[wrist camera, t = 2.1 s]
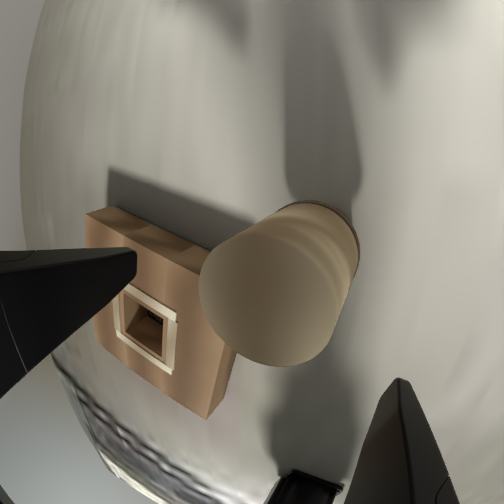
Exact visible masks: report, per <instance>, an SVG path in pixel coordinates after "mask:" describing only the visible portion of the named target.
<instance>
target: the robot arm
mask: <svg viewBox="0 0 504 504" xmlns="http://www.w3.org/2000/svg"><path fill="white" fill-rule="evenodd" d="M137 257H138V256H137V252H136V251H134V250H133V249H131V248H129V247H108V248H80V249H54V250H37V251H35V250H29V251H0V399H1V398H2V397H3V396H4V395H5V394H6V393H7V392H8V391H9V390H10V389H11V388H12V387H13V386H14V385H16V383H18V382H19V381H20V380H21V379H22V378H23V377H24V376H25V375H26V374H27V373H28V372H29V371H30V370H32V369H33V368H34V367H35V366H36V365H37V364H38V363H40V362H41V361H42V360H43V359H44V358H45V357H46V356H47V355H49V354H50V353H51V352H52V351H53V350H54V349H55V348H57V347H58V346H59V345H60V344H61V343H62V342H64V341H65V340H66V339H67V338H68V337H69V336H71V335H72V334H73V333H74V332H75V331H76V330H78V329H79V328H80V327H81V326H82V325H84V324H85V323H86V322H87V321H88V320H90V319H91V318H92V317H93V316H94V315H96V314H97V313H98V312H99V311H101V310H102V309H103V308H104V307H105V306H106V305H108V304H109V303H110V302H111V301H112V300H113V299H114V298H115V297H116V296H117V295H118V294H119V293H120V292H121V291H122V290H123V289H124V288H125V287H126V286H127V285H128V284H129V283H130V282H131V281H132V280H133V279H134V278H135V276H136V274H137ZM448 475H449V474H448V471H447V468H446V465H445V463H444V460H443V458H442V455H441V453H440V450H439V448H438V445H437V443H436V440H435V438H434V435H433V433H432V431H431V428H430V426H429V424H428V421H427V419H426V417H425V414H424V412H423V410H422V408H421V405H420V403H419V401H418V399H417V397H416V395H415V392H414V390H413V388H412V386H411V384H410V382H409V381H407V380H404V379H402V378H396V379H395V380H394V381H393V382H392V383H391V385H390V386H389V387H388V388H387V390H386V391H385V392H384V393H383V395H382V396H381V398H380V400H379V402H378V405H377V408H376V411H375V414H374V417H373V419H372V422H371V425H370V427H369V430H368V433H367V435H366V438H365V440H364V443H363V446H362V449H361V453H360V456H359V459H358V463H357V466H356V469H355V473H354V476H353V479H352V482H351V485H350V488H349V491H348V493H347V496H346V499H345V502H344V504H460V503H459V501H458V498H457V495H456V492H455V490H454V487H453V484H452V482H451V479H450V477H449V476H448ZM342 491H343V488H342V487H340V486H337V485H334V484H331V483H328V482H325V481H322V480H319V479H317V478H314V477H311V476H309V475H306V474H304V473H301V472H299V471H296V470H292V471H291V472H290V473H289V474H288V475H287V476H285V477H281V478H280V479H279V480H278V481H277V482H276V483H275V484H274V486H273V488H272V490H271V492H270V493H269V495H268V497H267V499H266V500H265V502H264V504H332V503H333V501H334V498H335V496H337V495H338V494H340V493H341V492H342ZM0 504H14V503H13V501H12V500H11V499H10V498H9V496H8V495H7V494H6V492H5V491H4V490H3V488H2V487H1V485H0Z"/></svg>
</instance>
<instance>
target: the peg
mask: <svg viewBox="0 0 504 504" xmlns="http://www.w3.org/2000/svg"><path fill="white" fill-rule="evenodd" d="M359 260H360V245H359V241H358V237H357V234H356V232H355V230H354V228H353V226H352V225H351V223H350V222H349V221H348V219H347V218H346V216H345V215H344V214H343V213H342V212H340V211H339V210H337V209H336V208H333V207H332V206H329V205H327V204H325V203H321V202H317V201H307V200H305V201H298V202H294V203H291V204H289V205H286V206H284V207H283V208H281V209H279V210H278V211H277V212H275V213H274V214H272V215H270V216H269V217H267V218H265V219H263V220H261V221H259V222H258V223H256V224H254V225H252V226H250V227H249V228H247V229H245V230H243V231H241V232H240V233H238V234H236V235H234V236H233V237H231V238H229V239H227V240H225V241H224V242H222V243H221V244H219V245H218V246H216V247H215V248H214V249H213V250H212V251H211V252H210V254H209V255H208V256H207V258H206V260H205V261H204V263H203V266H202V268H201V272H200V276H199V296H200V302H201V305H202V309H203V311H204V314H205V316H206V318H207V320H208V322H209V324H210V325H211V327H212V328H213V330H214V331H215V332H216V334H217V335H218V336H219V337H220V338H221V339H222V340H223V341H224V343H226V344H227V345H228V346H229V347H230V348H231V349H233V350H234V351H236V352H237V353H238V354H240V355H242V356H244V357H245V358H247V359H250V360H252V361H254V362H257V363H260V364H264V365H268V366H276V367H287V366H294V365H298V364H302V363H304V362H307V361H309V360H310V359H312V358H314V357H315V356H317V355H318V354H319V353H320V352H321V351H322V350H323V349H324V348H325V347H326V345H327V344H328V342H329V341H330V339H331V336H332V334H333V331H334V329H335V326H336V324H337V321H338V318H339V316H340V313H341V310H342V308H343V305H344V302H345V300H346V297H347V294H348V291H349V288H350V285H351V282H352V280H353V278H354V276H355V274H356V271H357V268H358V265H359Z"/></svg>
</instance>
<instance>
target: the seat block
mask: <svg viewBox="0 0 504 504" xmlns="http://www.w3.org/2000/svg"><path fill="white" fill-rule="evenodd" d="M85 223H86V248H108V247H129V248H131V249H133V250H134V251H136V252H137V256H138V257H137V274H136V276H135V278H134V279H133V280H132V281H131V282H130V283H129V284H128V285H127V286H126V287H125V288H124V289H123V290H122V291H121V292H120V293H119V294H118V295H117V296H116V297H115V298H114V299H113V300H112V301H111V302H110V303H109V304H108V305H106V306H105V307H104V308H103V309H102V310H101V311H99V312H98V313H97V314H96V315H94V316H93V317H92V318H93V325H94V332H95V338H96V341H97V342H98V343H99V344H100V345H102V346H103V347H104V348H105V349H106V350H108V351H109V352H110V353H111V354H112V355H114V356H115V357H116V358H117V359H119V360H120V361H121V362H122V363H124V364H125V365H126V366H127V367H129V368H130V369H131V370H133V371H134V372H135V373H137V374H138V375H139V376H141V377H142V378H143V379H145V380H146V381H147V382H149V383H150V384H152V385H153V386H154V387H156V388H157V389H159V390H160V391H162V392H163V393H164V394H166V395H167V396H169V397H170V398H172V399H173V400H175V401H176V402H178V403H180V404H181V405H183V406H184V407H186V408H187V409H189V410H190V411H192V412H194V413H195V414H197V415H199V416H200V417H202V418H204V419H205V420H207V418H208V417H209V416H210V415H211V413H212V412H213V411H214V410H215V408H216V407H217V406H218V405H219V404H220V402H221V401H222V400H223V398H224V394H225V391H226V388H227V384H228V381H229V377H230V374H231V371H232V367H233V364H234V360H235V357H236V353H237V352H236V351H234V350H233V349H231V348H230V347H229V346H228V345H227V344H226V343H224V341H223V340H222V339H221V338H220V337H219V336H218V335H217V334H216V332H215V331H214V330H213V328H212V327H211V325H210V324H209V322H208V320H207V318H206V316H205V314H204V311H203V309H202V305H201V302H200V296H199V276H200V272H201V268H202V266H203V263H204V261H205V260H206V258H207V256H208V255H209V254H210V252H211V251H209V250H207V249H204V248H202V247H200V246H198V245H196V244H194V243H191V242H189V241H187V240H185V239H183V238H181V237H179V236H176V235H174V234H172V233H170V232H168V231H166V230H164V229H161V228H159V227H157V226H155V225H153V224H151V223H149V222H147V221H144V220H142V219H140V218H138V217H136V216H134V215H132V214H130V213H128V212H126V211H123V210H121V209H119V208H117V207H115V206H110V207H107V208H103V209H100V210H97V211H93V212H90V213H87V214H85ZM148 310H150V311H151V312H153V313H155V314H156V315H158V316H159V317H161V318H162V319H163V326H162V325H161V324H159V323H158V322H156V321H155V320H153V319H152V318H150V317H149V316H148Z"/></svg>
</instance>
